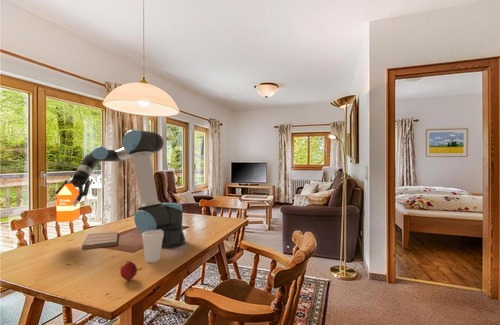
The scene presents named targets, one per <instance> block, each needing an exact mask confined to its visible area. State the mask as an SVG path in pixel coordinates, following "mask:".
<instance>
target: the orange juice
mask: <svg viewBox="0 0 500 325" xmlns="http://www.w3.org/2000/svg"><path fill="white" fill-rule="evenodd" d="M77 194H79V189H77V187H74V185H73V184H72V183H71V184H66V185H64V186H63V188H62V189H61V190H60V192H59V193H58V194H56V197H57V207H56V223H67V222H68V223H70V222H71V223H72V222H75V221H77V220H79V219H80V213H81V212H80V208H81V205H80V201H81V200H80V201H79V202H78V203H77V205H76V207H74V206H73V205H72V203H73V201H74V199H75V198H76V196H77Z"/></svg>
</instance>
